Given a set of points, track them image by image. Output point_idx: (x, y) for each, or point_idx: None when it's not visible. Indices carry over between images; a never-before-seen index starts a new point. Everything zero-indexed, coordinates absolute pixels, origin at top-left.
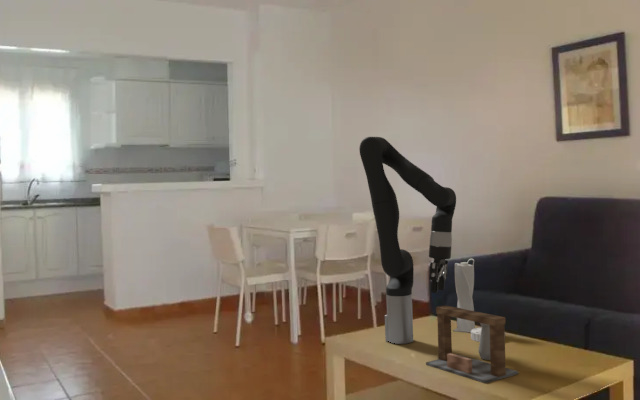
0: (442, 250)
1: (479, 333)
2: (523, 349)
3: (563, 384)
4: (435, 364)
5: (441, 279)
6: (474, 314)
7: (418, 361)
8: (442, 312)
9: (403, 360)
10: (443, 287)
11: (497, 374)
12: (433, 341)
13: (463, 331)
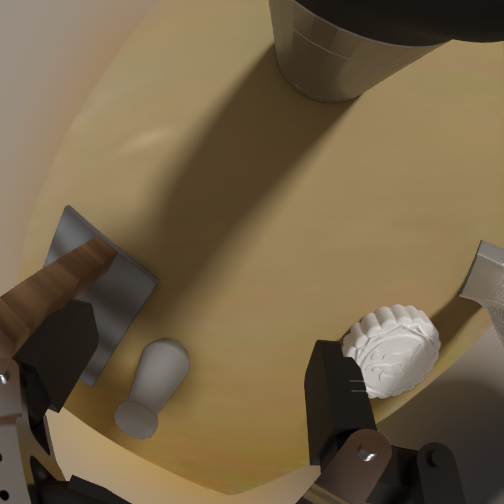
0: None
1: (359, 347)
2: (274, 417)
3: (83, 420)
4: (58, 234)
5: (322, 449)
6: None
7: (89, 176)
8: None
9: (88, 131)
10: (306, 395)
11: None
12: (345, 180)
13: (470, 274)
